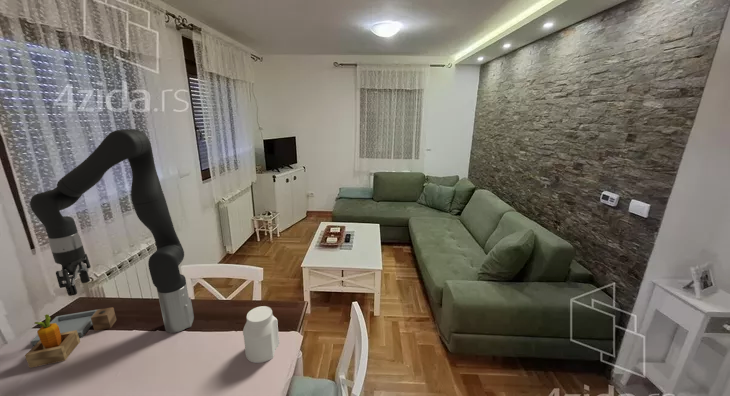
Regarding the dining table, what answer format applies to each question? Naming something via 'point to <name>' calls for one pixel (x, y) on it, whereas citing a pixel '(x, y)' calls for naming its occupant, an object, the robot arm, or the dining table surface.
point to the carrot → (49, 333)
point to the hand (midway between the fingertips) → (79, 288)
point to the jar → (260, 335)
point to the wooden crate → (53, 350)
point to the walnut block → (103, 319)
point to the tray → (72, 323)
